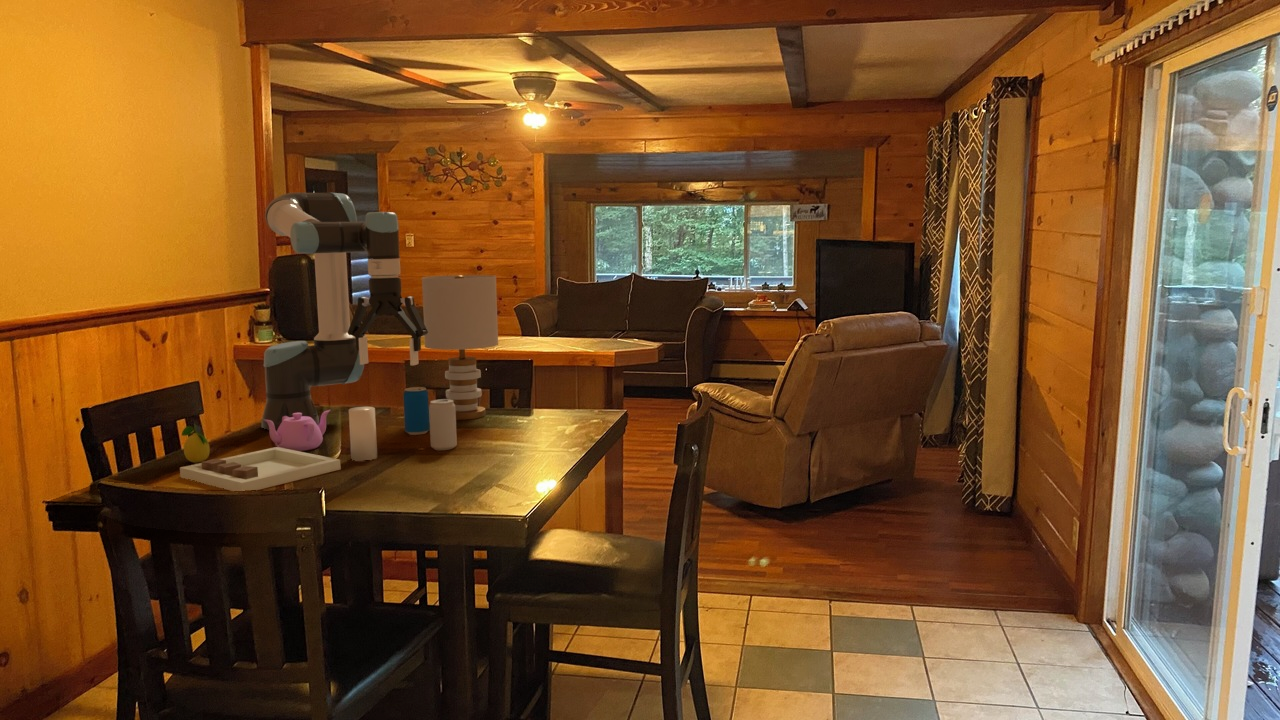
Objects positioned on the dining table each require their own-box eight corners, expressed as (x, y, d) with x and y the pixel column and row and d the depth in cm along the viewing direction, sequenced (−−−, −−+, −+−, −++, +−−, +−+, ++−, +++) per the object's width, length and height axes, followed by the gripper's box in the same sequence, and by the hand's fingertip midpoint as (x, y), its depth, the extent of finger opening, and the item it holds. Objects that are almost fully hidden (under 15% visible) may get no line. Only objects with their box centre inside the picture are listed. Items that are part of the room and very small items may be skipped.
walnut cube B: (218, 480, 208) (217, 465, 207) (234, 477, 210) (233, 462, 210) (226, 483, 205) (225, 467, 205) (242, 480, 208) (240, 464, 208)
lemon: (183, 463, 228) (180, 421, 226) (210, 460, 230) (207, 419, 229) (182, 469, 222) (179, 427, 220) (210, 466, 224) (207, 424, 223)
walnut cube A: (202, 477, 211) (201, 462, 210) (215, 474, 214) (214, 458, 213) (213, 479, 209) (212, 463, 209) (227, 475, 212) (225, 460, 212)
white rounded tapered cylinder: (346, 459, 230) (343, 409, 228) (366, 454, 235) (363, 405, 233) (362, 462, 226) (359, 412, 225) (382, 457, 231) (380, 408, 229)
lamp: (431, 410, 292) (426, 274, 286) (501, 407, 294) (497, 273, 288) (424, 423, 271) (417, 277, 265) (499, 421, 273) (494, 276, 268)
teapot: (265, 453, 237) (262, 418, 236) (287, 441, 251) (285, 408, 250) (312, 453, 237) (310, 417, 235) (332, 441, 250) (330, 407, 249)
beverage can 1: (433, 430, 262) (431, 386, 260) (425, 435, 255) (423, 390, 254) (409, 430, 263) (407, 386, 261) (401, 435, 256) (399, 390, 255)
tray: (180, 480, 211) (179, 467, 211) (277, 459, 231) (277, 446, 230) (243, 497, 197) (242, 483, 197) (340, 472, 217) (340, 459, 216)
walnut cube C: (233, 486, 203) (232, 469, 203) (244, 481, 207) (243, 466, 206) (247, 487, 202) (246, 470, 202) (258, 482, 206) (257, 466, 205)
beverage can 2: (461, 446, 242) (459, 399, 240) (448, 451, 236) (446, 403, 234) (439, 444, 244) (437, 397, 243) (425, 450, 238) (423, 402, 237)
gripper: (330, 277, 231) (335, 365, 234) (424, 277, 225) (428, 367, 228) (347, 276, 239) (351, 361, 241) (439, 275, 232) (443, 363, 235)
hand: (389, 364), depth 234 cm, fingers open, 13 cm apart
